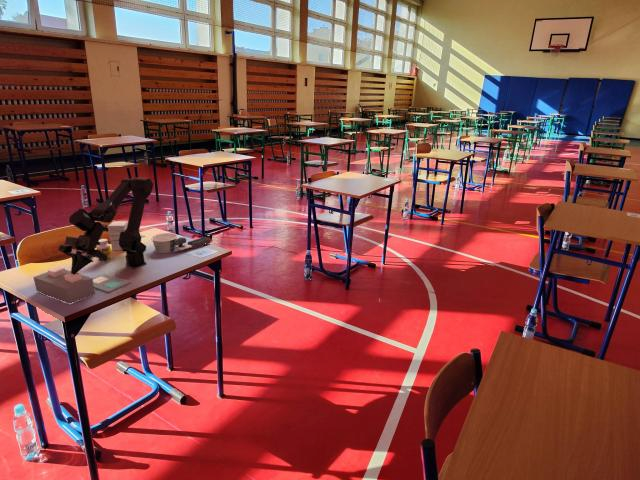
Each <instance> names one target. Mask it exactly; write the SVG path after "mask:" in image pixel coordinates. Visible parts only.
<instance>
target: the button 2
mask: <svg viewBox="0 0 640 480" xmlns="http://www.w3.org/2000/svg"><path fill="white" fill-rule="evenodd" d="M82 275H83V274H82V273H80V272H77V273H76V274H71V273H69V274H67V275H64V277H65V281H67V282H70V283H73V282H76V281H78V280H81V279H82Z"/></svg>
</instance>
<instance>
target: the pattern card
mask: <svg viewBox="0 0 640 480" xmlns="http://www.w3.org/2000/svg"><path fill="white" fill-rule="evenodd" d="M91 278H92V279H93V285H94V290H95V289H96V290H98V291H101V292H104V293H107V294H109V293H112V292H113V291H116V290H118V289H121V288H123V287H126V286H128V285H130V284H132V283H131V281H130V280H126V279H123V278H120V277H117V276H114V275H110V274H107V273H102V274H100V275H97V276H95V277H91Z"/></svg>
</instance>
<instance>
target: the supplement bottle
mask: <svg viewBox="0 0 640 480" xmlns="http://www.w3.org/2000/svg"><path fill="white" fill-rule="evenodd" d="M98 242H100V245H96V250H100V251H102V252H103V253H105V254H107V257H108V259H107V261H106V262H105V263H108V262H111V261H112V259H113V257H112V253H111V252H112V251H111V244H109V243H108V239H107V238H101V239H99V241H98ZM97 259H98V261H99V258H97ZM99 263H102V262H101V261H99Z"/></svg>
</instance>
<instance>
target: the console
mask: <svg viewBox="0 0 640 480" xmlns="http://www.w3.org/2000/svg"><path fill="white" fill-rule="evenodd" d="M65 273H66V274H63V275H60V276H58V277H52V276H49V273H48V271H47V272H44V273H41V274H39V275H36V276H33V281H34V285H35V289H36V292H37V291H39V292H41V293H43V294H45V295H48V296H51V297H54V298H56V299H59V300H62V301H65V302H67V303H72V302H75V301H77V300H80V299H82V300H84V299H83V298H85V297H87V298H89V297H91V296H94V295H96V291H95V288H94V285H93V279H92V278H93V277H90V276H86V275H83V274H81V275H82V279H81V280H78V281H76V282H73V283H70V282H67V281H65V277H64V275H67V274H69V273H71V270H68V269H65ZM93 294H94V295H93ZM45 295H44V296H45ZM90 295H91V296H90ZM88 296H89V297H88ZM85 299H86V298H85ZM80 301H81V300H80Z"/></svg>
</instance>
